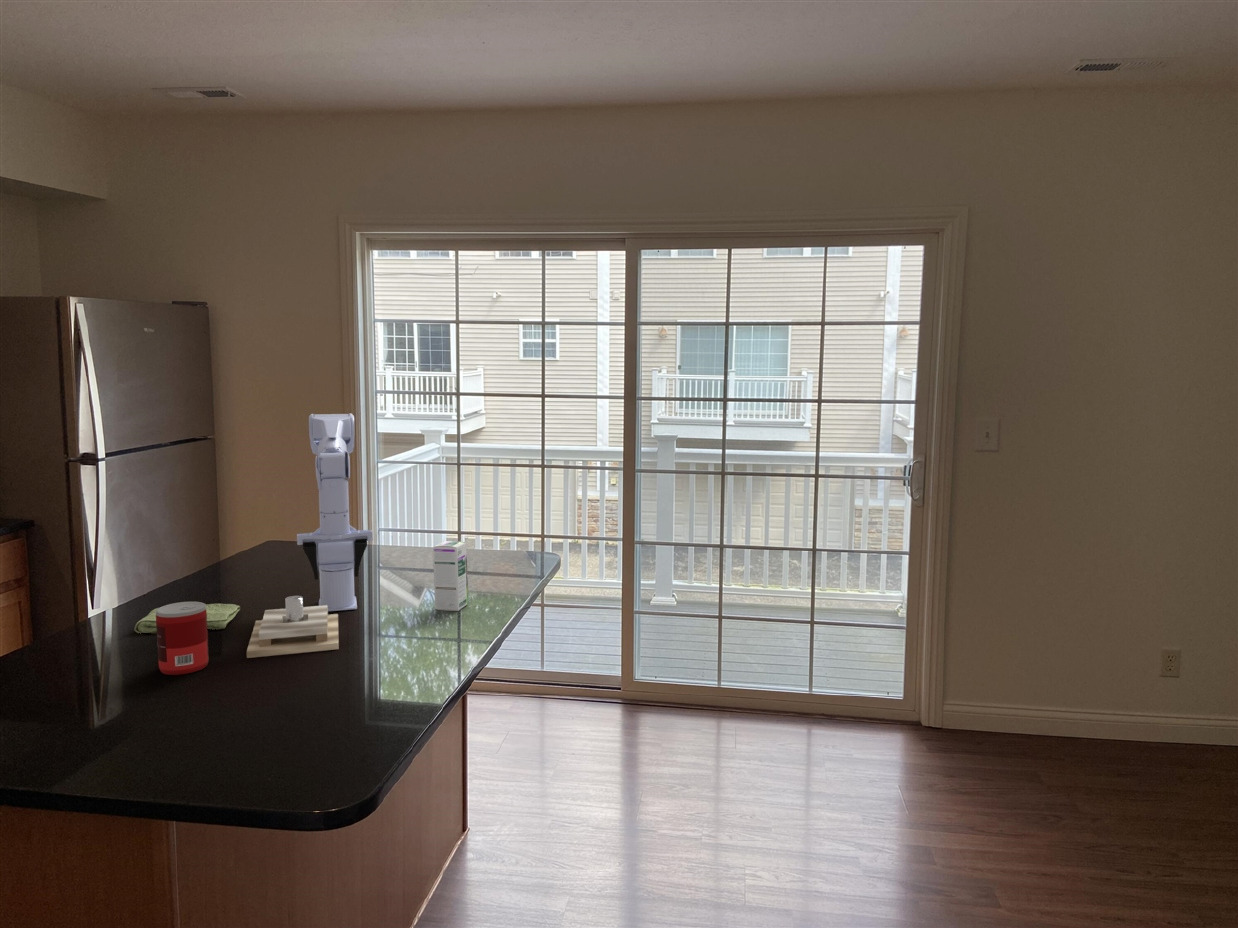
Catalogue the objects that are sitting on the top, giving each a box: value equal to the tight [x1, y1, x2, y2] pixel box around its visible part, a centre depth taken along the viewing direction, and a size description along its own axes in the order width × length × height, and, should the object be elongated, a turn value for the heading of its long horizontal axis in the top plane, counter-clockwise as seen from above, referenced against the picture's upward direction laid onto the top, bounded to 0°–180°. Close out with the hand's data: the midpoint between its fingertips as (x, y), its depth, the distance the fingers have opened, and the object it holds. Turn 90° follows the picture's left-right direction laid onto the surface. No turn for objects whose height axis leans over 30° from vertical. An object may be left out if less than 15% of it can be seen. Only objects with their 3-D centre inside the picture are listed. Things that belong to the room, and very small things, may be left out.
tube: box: [284, 595, 304, 623], centre depth 166 cm, size 3×3×8 cm
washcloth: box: [134, 603, 241, 635], centre depth 175 cm, size 13×18×3 cm
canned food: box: [156, 601, 210, 676], centre depth 149 cm, size 8×8×11 cm
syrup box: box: [432, 540, 469, 612], centre depth 187 cm, size 6×6×14 cm
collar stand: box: [246, 605, 340, 659], centre depth 166 cm, size 20×16×4 cm
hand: (336, 577), depth 172 cm, fingers open, 7 cm apart
